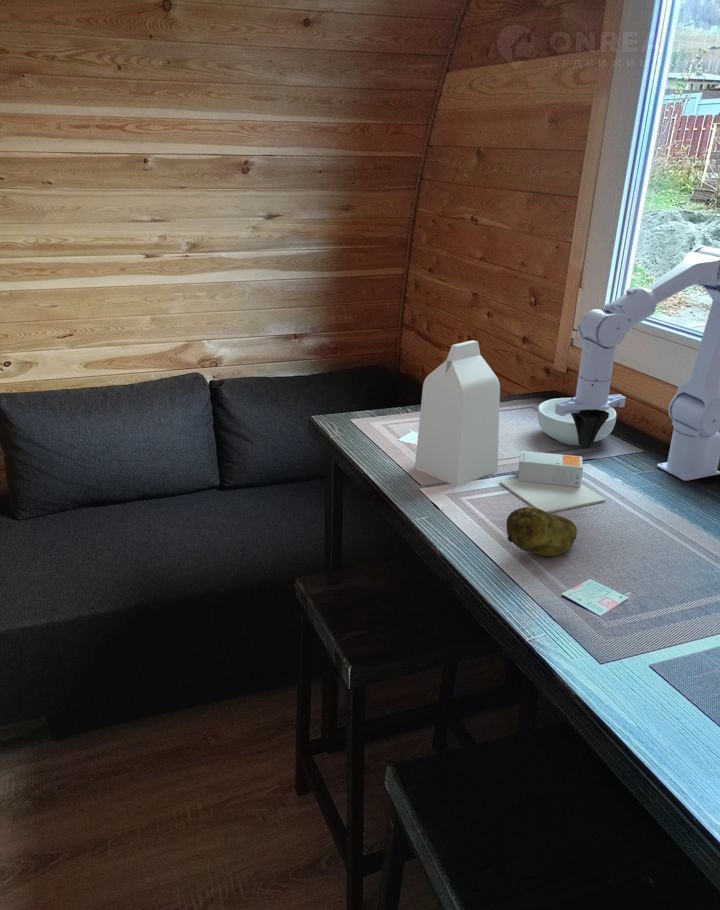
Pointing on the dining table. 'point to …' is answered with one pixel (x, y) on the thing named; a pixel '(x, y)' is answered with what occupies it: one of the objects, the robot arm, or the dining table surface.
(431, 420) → the milk
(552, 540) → the potato
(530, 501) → the mat
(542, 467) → the skincare box
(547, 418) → the cereal bowl
